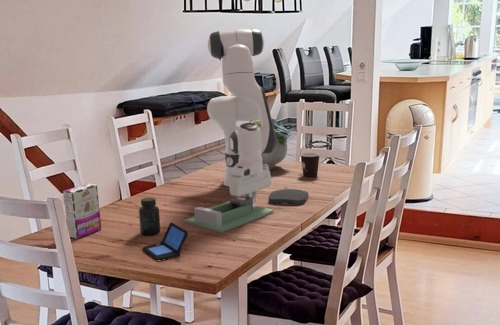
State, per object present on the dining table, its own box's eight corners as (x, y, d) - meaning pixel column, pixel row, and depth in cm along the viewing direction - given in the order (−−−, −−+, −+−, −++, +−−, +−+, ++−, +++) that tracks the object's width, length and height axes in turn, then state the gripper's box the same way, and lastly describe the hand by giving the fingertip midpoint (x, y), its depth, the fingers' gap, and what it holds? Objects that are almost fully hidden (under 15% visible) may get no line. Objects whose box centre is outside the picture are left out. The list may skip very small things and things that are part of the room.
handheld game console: (141, 250, 188) (139, 228, 186) (172, 243, 193) (171, 221, 192) (157, 262, 177) (156, 238, 176) (190, 254, 183) (189, 231, 181)
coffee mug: (320, 177, 271) (320, 156, 269) (301, 178, 271) (301, 156, 269) (317, 171, 283) (317, 151, 280) (299, 172, 283) (299, 151, 281)
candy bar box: (91, 227, 210) (87, 182, 207) (101, 229, 208) (98, 184, 204) (66, 237, 201) (62, 190, 198) (77, 239, 198) (72, 192, 195)
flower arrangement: (264, 160, 310) (263, 113, 305) (301, 167, 293) (301, 117, 287) (229, 168, 293) (228, 119, 288) (266, 176, 276) (265, 124, 271)
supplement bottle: (142, 230, 206) (140, 196, 204) (162, 229, 206) (160, 196, 203) (138, 236, 200) (135, 202, 197) (158, 236, 199) (156, 201, 197)
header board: (237, 204, 234) (237, 190, 232) (273, 212, 222) (273, 197, 221) (185, 222, 213) (184, 207, 212) (221, 232, 202) (220, 216, 200)
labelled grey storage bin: (242, 207, 226) (242, 195, 225) (252, 209, 223) (252, 197, 222) (230, 211, 221) (229, 199, 220) (240, 214, 218) (240, 201, 217)
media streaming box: (275, 194, 247) (275, 187, 246) (310, 196, 243) (310, 189, 242) (266, 204, 233) (266, 197, 233) (303, 206, 229) (303, 199, 229)
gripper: (261, 161, 232) (262, 195, 235) (226, 171, 217) (227, 207, 220) (274, 163, 228) (275, 198, 231) (238, 173, 213) (240, 210, 216)
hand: (251, 202), depth 225 cm, fingers closed
